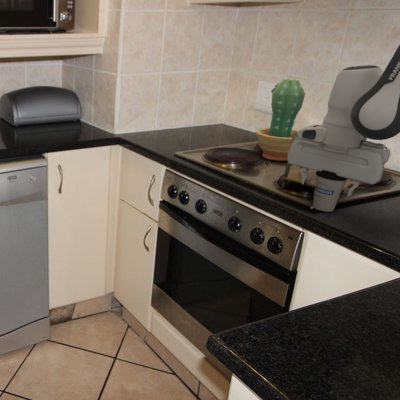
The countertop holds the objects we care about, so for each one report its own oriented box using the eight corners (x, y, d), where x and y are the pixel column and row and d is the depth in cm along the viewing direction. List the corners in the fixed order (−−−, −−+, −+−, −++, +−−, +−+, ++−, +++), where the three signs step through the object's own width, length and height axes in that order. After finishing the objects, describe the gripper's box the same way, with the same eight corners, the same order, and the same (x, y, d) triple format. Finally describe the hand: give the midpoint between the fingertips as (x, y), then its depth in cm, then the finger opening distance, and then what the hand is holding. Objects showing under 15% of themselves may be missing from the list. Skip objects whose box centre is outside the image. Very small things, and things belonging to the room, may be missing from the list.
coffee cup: (322, 201, 123) (331, 164, 119) (345, 211, 117) (356, 173, 113) (301, 204, 121) (310, 166, 117) (324, 214, 115) (334, 175, 111)
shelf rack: (351, 191, 130) (367, 136, 124) (336, 202, 122) (352, 144, 116) (298, 178, 139) (310, 126, 133) (280, 187, 132) (292, 133, 126)
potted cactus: (304, 153, 161) (318, 78, 152) (302, 165, 148) (318, 83, 139) (254, 148, 168) (265, 75, 159) (249, 159, 155) (260, 81, 146)
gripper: (396, 143, 107) (377, 200, 113) (301, 125, 121) (289, 176, 126) (388, 148, 103) (369, 206, 109) (291, 129, 117) (279, 181, 122)
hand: (325, 190), depth 118 cm, fingers open, 8 cm apart
